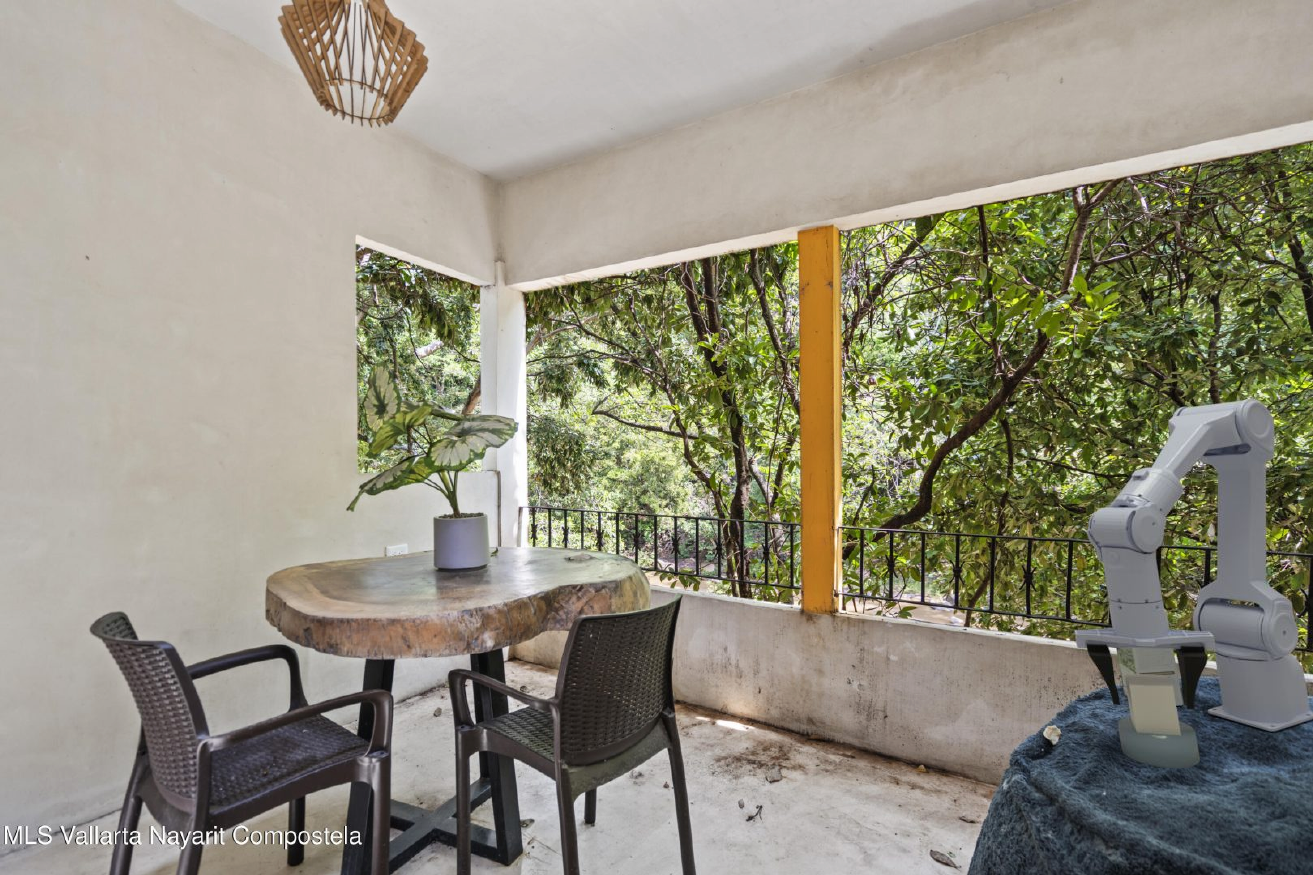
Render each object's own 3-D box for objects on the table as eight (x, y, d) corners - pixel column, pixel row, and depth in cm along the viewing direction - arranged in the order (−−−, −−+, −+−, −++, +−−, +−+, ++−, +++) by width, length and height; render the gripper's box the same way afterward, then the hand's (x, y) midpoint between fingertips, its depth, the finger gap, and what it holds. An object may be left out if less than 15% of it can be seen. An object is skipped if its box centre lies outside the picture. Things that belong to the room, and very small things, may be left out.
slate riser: (1151, 737, 88) (1147, 711, 88) (1216, 759, 81) (1211, 731, 81) (1107, 750, 86) (1102, 723, 86) (1169, 775, 78) (1164, 745, 79)
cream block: (1131, 718, 87) (1124, 673, 87) (1173, 721, 85) (1165, 675, 85) (1136, 732, 83) (1129, 684, 83) (1181, 735, 81) (1173, 686, 81)
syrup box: (1185, 707, 96) (1169, 608, 96) (1140, 708, 97) (1125, 611, 98) (1163, 693, 101) (1148, 600, 102) (1121, 695, 102) (1107, 603, 103)
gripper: (1072, 605, 84) (1088, 711, 84) (1214, 605, 77) (1233, 720, 77) (1068, 594, 91) (1083, 692, 90) (1199, 592, 84) (1217, 699, 83)
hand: (1151, 704), depth 84 cm, fingers open, 7 cm apart
